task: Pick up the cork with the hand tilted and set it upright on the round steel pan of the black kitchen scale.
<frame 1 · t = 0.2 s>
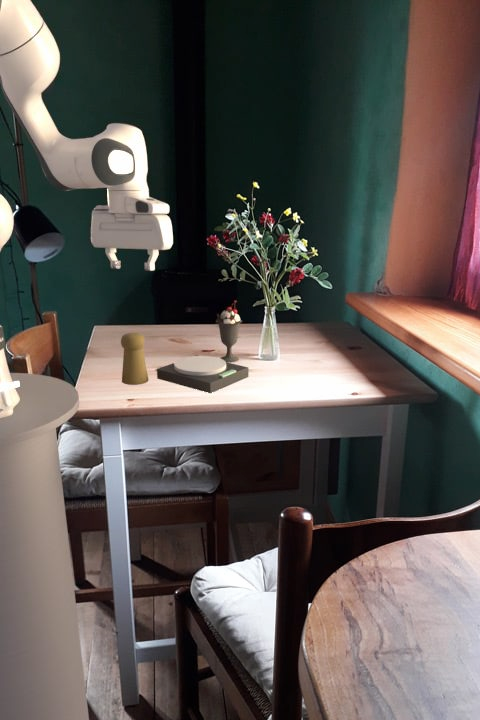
hand: (132, 269, 139), 24 cm above the table, tool pointing down, fingers open, 8 cm apart
cork: (135, 381, 141), on the table
scale: (203, 377, 144), on the table
sundae: (229, 360, 158), on the table
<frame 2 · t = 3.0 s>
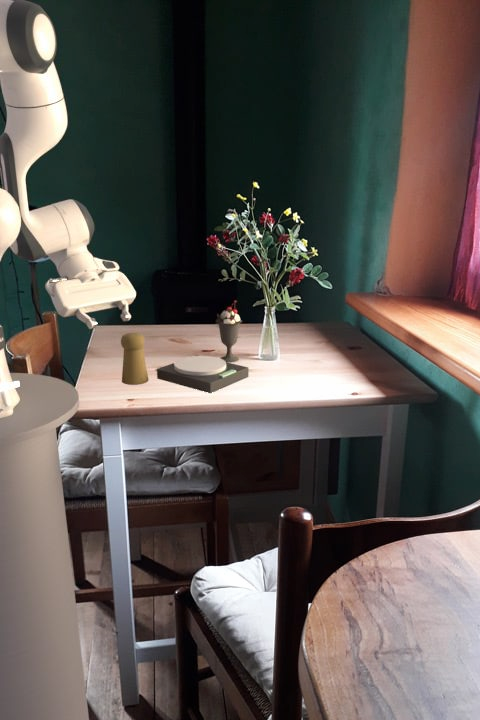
hand: (111, 323, 141), 12 cm above the table, tool tilted 45°, fingers open, 8 cm apart
nothing on the table moved.
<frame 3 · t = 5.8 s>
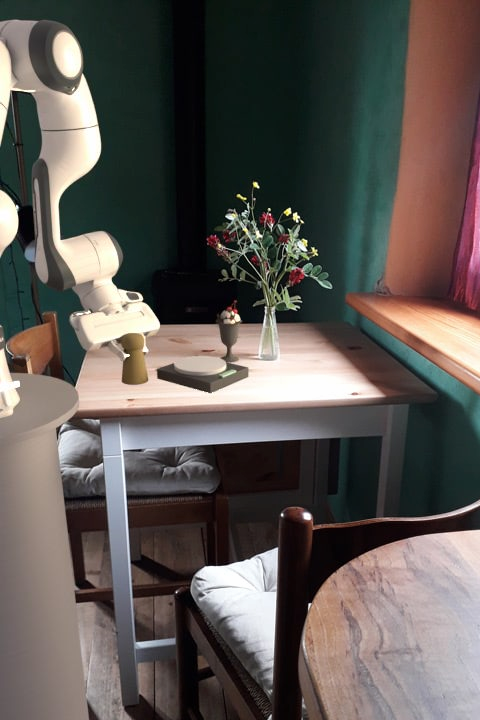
hand: (135, 356, 139), 6 cm above the table, tool tilted 45°, fingers closed on cork, 4 cm apart
cork: (135, 381, 141), on the table, touching gripper
everything else where it was.
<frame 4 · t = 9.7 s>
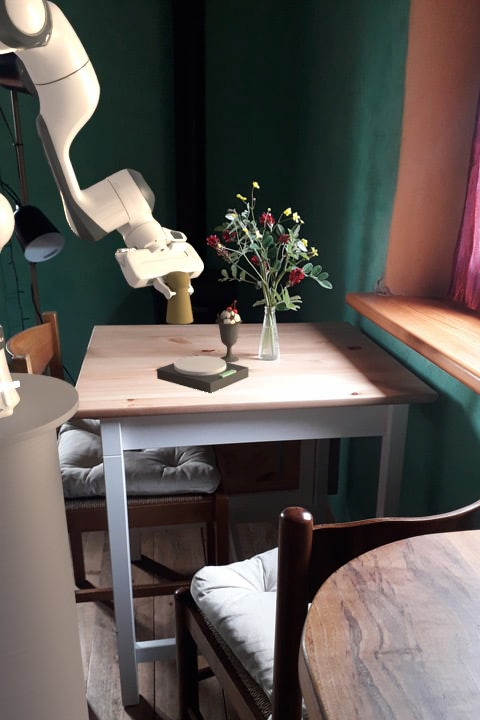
hand: (181, 295, 136), 20 cm above the table, tool tilted 45°, fingers closed on cork, 4 cm apart
cork: (179, 321, 138), point 13 cm above the table, touching gripper
everything else where it was.
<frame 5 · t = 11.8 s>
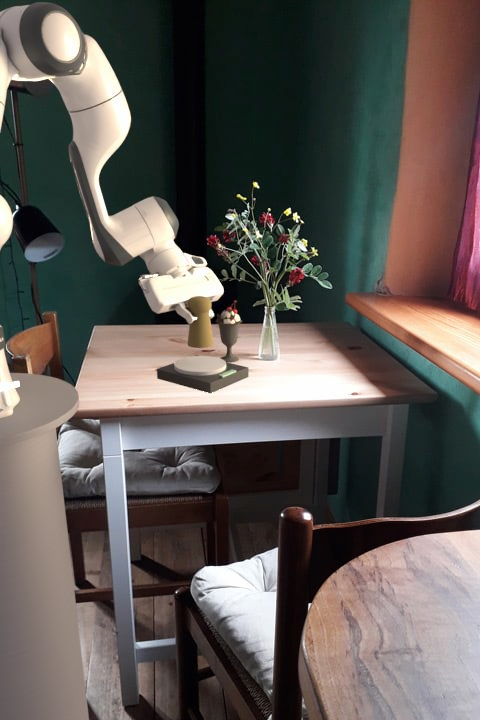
hand: (202, 319, 139), 14 cm above the table, tool tilted 45°, fingers closed on cork, 4 cm apart
cork: (200, 345, 141), point 8 cm above the table, touching gripper
everything else where it was.
when the fingers open (9 cm above the table, at t = 13.5 s): cork stays where it is, resting on scale.
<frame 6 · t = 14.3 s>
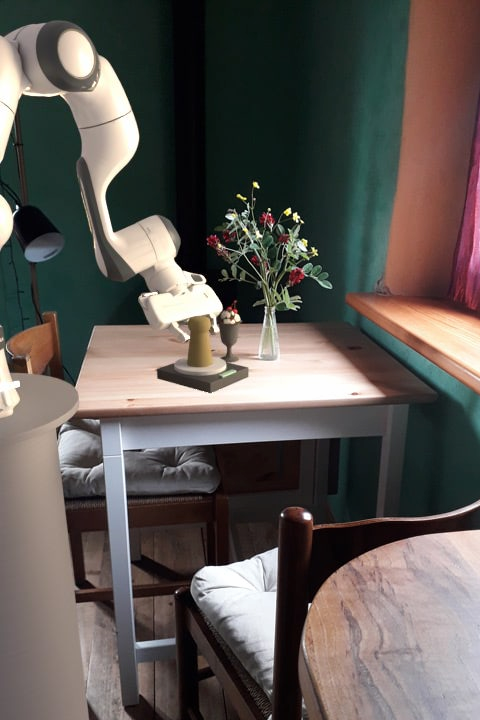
hand: (201, 337, 140), 10 cm above the table, tool tilted 45°, fingers open, 8 cm apart
cork: (200, 364, 143), point 3 cm above the table, touching scale
everything else where it was.
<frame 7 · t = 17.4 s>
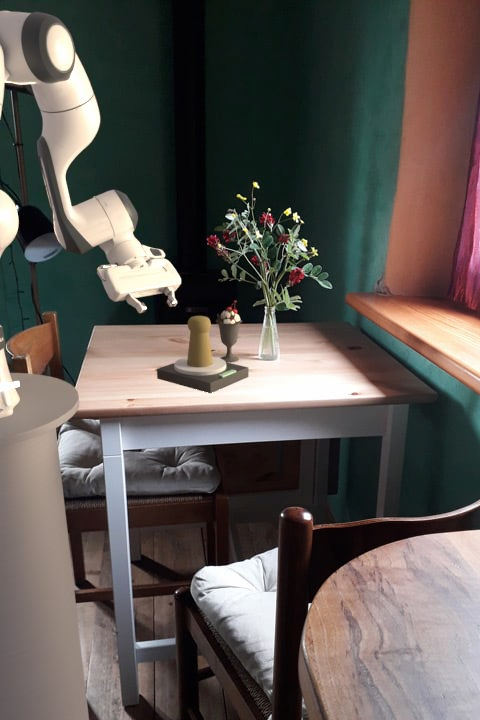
hand: (159, 308, 146), 15 cm above the table, tool tilted 45°, fingers open, 8 cm apart
nothing on the table moved.
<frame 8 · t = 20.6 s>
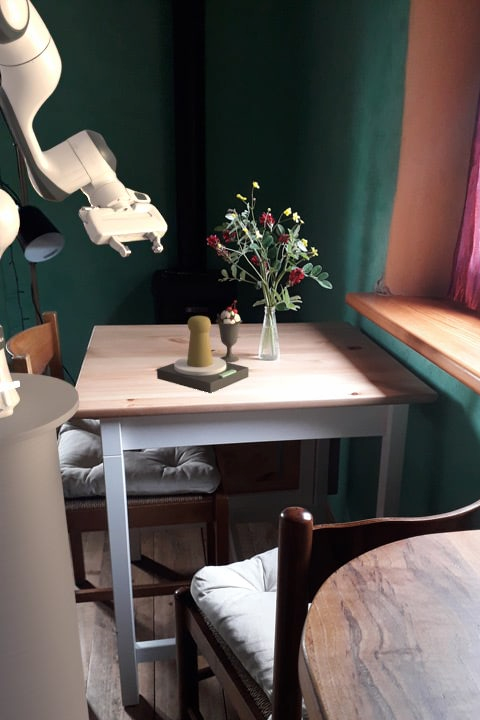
hand: (143, 253, 140), 27 cm above the table, tool tilted 45°, fingers open, 8 cm apart
nothing on the table moved.
at the end: cork inside the target area on the scale (0.1 cm from its centre), point 3.2 cm above the scale's base; cork tilted 0°; the gripper is holding nothing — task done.
